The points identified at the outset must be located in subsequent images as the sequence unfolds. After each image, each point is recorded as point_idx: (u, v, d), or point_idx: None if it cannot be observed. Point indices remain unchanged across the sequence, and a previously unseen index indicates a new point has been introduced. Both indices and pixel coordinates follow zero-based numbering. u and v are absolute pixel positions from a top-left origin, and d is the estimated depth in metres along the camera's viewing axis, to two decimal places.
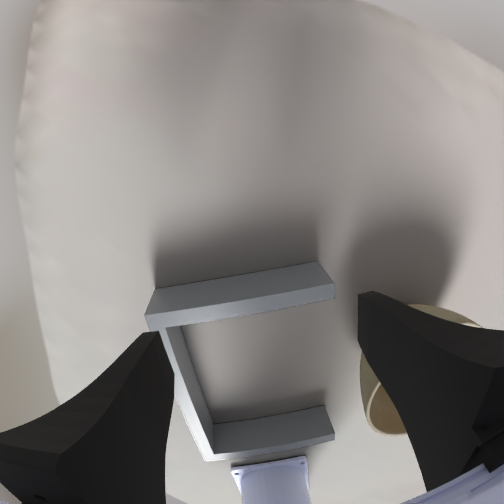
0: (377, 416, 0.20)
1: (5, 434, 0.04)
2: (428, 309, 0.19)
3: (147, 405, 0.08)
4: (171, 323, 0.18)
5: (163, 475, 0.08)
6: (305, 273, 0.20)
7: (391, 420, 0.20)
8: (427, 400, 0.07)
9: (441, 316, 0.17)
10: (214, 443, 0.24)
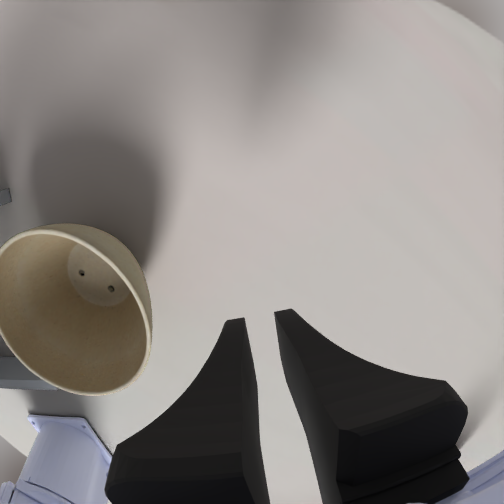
0: (46, 358, 0.16)
1: (128, 445, 0.04)
2: None
3: (250, 393, 0.08)
4: None
5: (263, 467, 0.08)
6: None
7: (66, 370, 0.17)
8: (315, 435, 0.07)
9: None
10: None
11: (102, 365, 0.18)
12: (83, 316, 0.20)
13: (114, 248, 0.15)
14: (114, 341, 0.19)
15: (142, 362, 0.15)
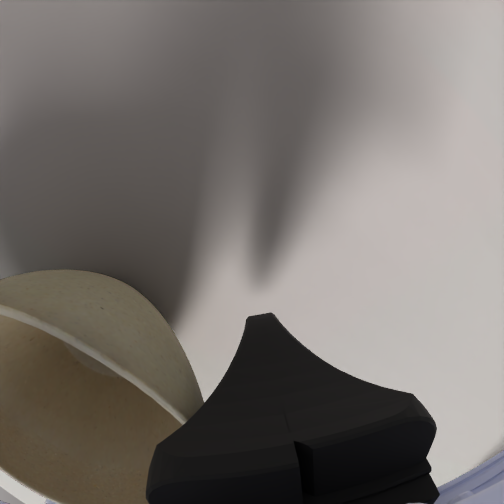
0: (39, 461, 0.09)
1: (169, 444, 0.04)
2: (28, 273, 0.08)
3: None
4: None
5: None
6: None
7: (71, 480, 0.09)
8: None
9: None
10: None
11: (123, 473, 0.10)
12: (87, 393, 0.13)
13: (137, 334, 0.07)
14: (137, 436, 0.12)
15: None
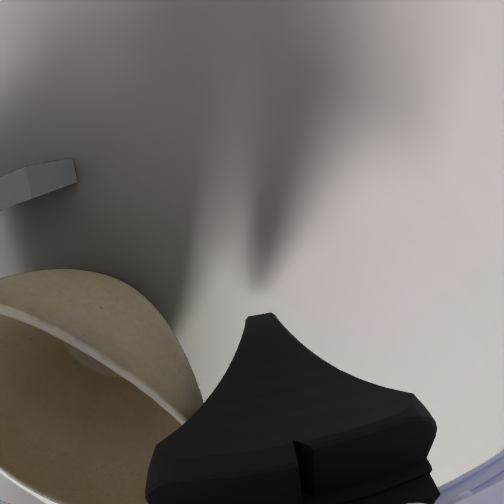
0: (38, 461, 0.09)
1: (168, 444, 0.04)
2: (28, 272, 0.08)
3: None
4: None
5: None
6: None
7: (70, 479, 0.09)
8: None
9: None
10: None
11: (123, 473, 0.10)
12: (86, 393, 0.13)
13: (136, 333, 0.07)
14: (137, 435, 0.12)
15: None
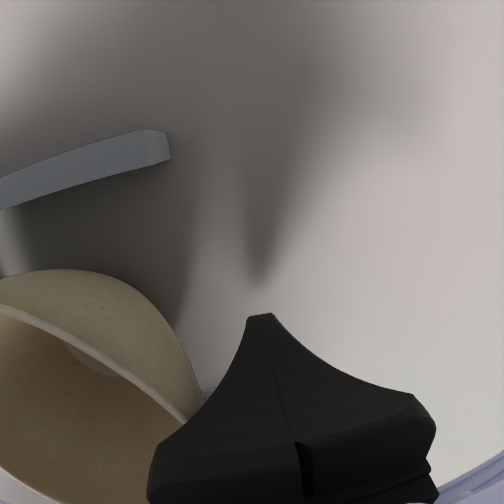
0: (39, 461, 0.09)
1: (170, 444, 0.04)
2: (28, 272, 0.08)
3: None
4: None
5: None
6: None
7: (71, 479, 0.09)
8: None
9: None
10: None
11: (123, 473, 0.10)
12: (87, 393, 0.13)
13: (137, 333, 0.07)
14: (137, 435, 0.12)
15: None
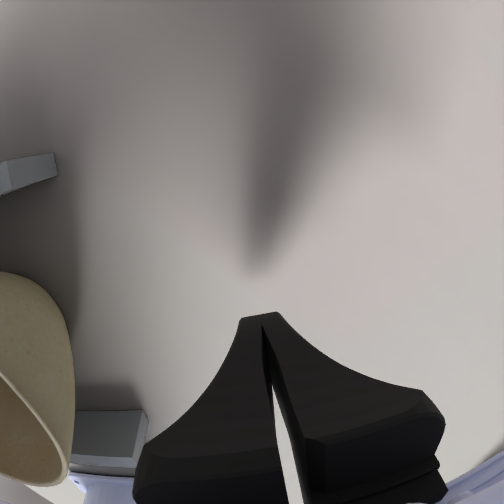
0: None
1: (156, 445, 0.04)
2: None
3: (268, 390, 0.08)
4: None
5: None
6: None
7: None
8: (293, 440, 0.07)
9: None
10: None
11: (32, 444, 0.11)
12: None
13: None
14: None
15: (62, 468, 0.08)
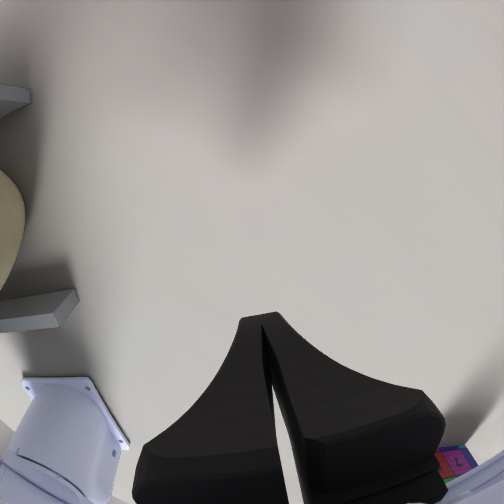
0: None
1: (155, 444, 0.04)
2: None
3: (268, 390, 0.08)
4: None
5: None
6: None
7: None
8: (293, 440, 0.07)
9: None
10: None
11: None
12: None
13: None
14: None
15: None
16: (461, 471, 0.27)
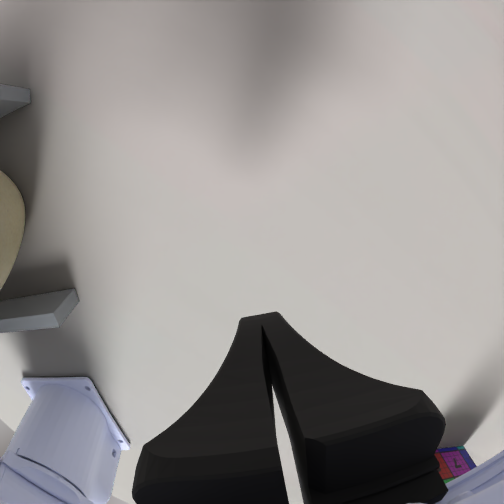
0: None
1: (155, 444, 0.04)
2: None
3: (268, 390, 0.08)
4: None
5: None
6: None
7: None
8: (293, 440, 0.07)
9: None
10: None
11: None
12: None
13: None
14: None
15: None
16: (460, 472, 0.27)
